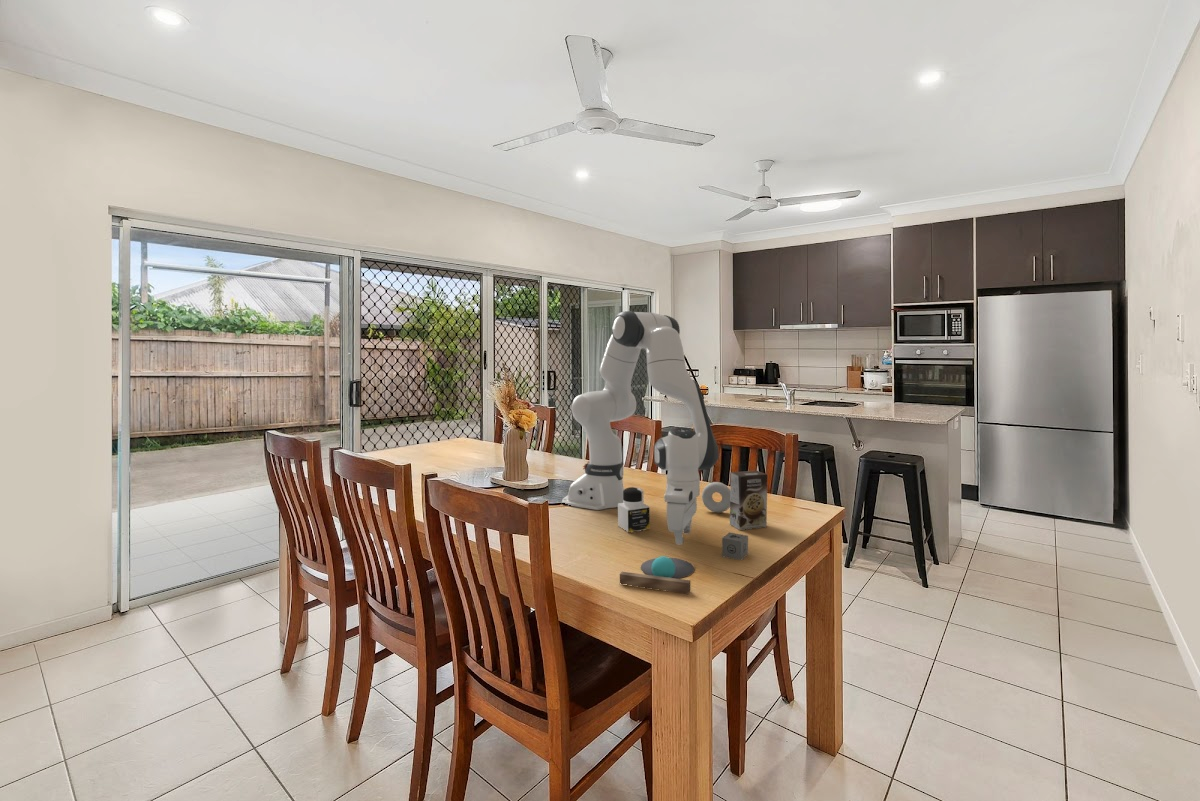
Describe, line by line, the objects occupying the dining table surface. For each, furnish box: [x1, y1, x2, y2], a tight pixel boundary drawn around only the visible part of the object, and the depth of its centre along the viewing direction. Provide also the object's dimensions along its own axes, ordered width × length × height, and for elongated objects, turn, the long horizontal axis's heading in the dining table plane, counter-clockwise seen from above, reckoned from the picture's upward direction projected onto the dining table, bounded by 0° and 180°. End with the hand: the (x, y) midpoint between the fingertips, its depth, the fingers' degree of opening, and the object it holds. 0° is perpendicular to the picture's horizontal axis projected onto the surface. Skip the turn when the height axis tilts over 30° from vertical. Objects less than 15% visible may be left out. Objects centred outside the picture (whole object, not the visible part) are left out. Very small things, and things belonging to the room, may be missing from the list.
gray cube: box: [721, 531, 749, 561], centre depth 150 cm, size 5×5×5 cm
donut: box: [701, 481, 730, 514], centre depth 187 cm, size 10×4×10 cm, turn 64°
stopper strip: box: [619, 571, 691, 595], centre depth 131 cm, size 16×2×2 cm, turn 70°
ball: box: [651, 555, 675, 578], centre depth 135 cm, size 6×6×6 cm
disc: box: [640, 557, 695, 579], centre depth 142 cm, size 13×13×1 cm
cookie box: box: [729, 470, 768, 531], centre depth 172 cm, size 9×6×16 cm
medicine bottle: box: [617, 486, 650, 533], centre depth 173 cm, size 7×7×12 cm
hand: (683, 538), depth 159 cm, fingers open, 8 cm apart
